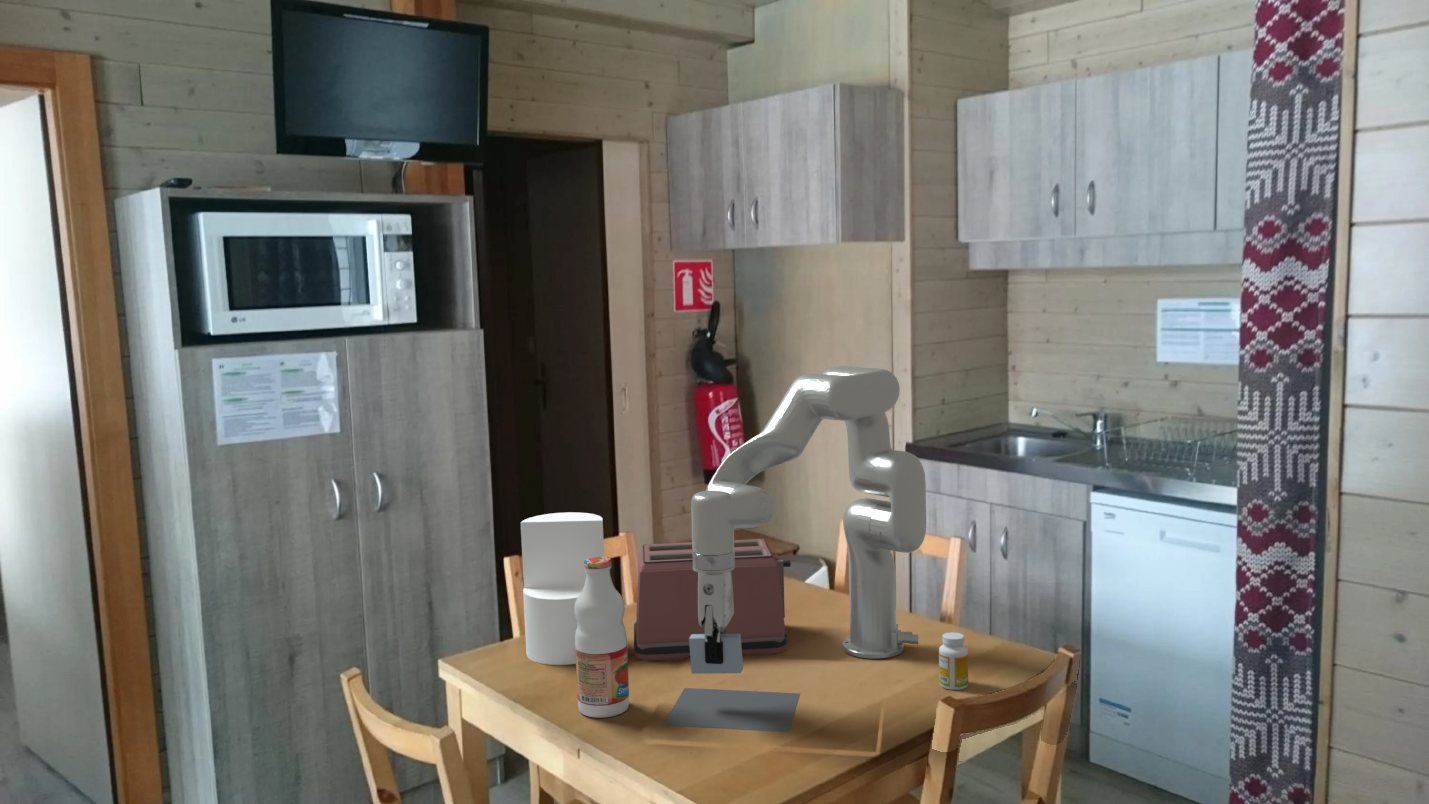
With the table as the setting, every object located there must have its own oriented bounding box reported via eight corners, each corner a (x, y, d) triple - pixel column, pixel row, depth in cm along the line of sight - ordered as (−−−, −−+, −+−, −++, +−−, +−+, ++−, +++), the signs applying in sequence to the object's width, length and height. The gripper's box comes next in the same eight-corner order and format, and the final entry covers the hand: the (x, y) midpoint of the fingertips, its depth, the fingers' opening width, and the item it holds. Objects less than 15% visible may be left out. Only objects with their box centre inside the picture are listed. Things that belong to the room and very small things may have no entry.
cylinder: (535, 637, 238) (528, 513, 235) (613, 635, 238) (607, 511, 234) (518, 665, 221) (511, 532, 218) (602, 664, 221) (596, 530, 217)
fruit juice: (575, 701, 201) (568, 555, 198) (625, 695, 203) (619, 551, 200) (580, 721, 192) (573, 568, 189) (633, 715, 194) (627, 563, 191)
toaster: (798, 653, 224) (796, 557, 221) (634, 662, 221) (630, 565, 219) (785, 623, 243) (783, 535, 240) (634, 631, 240) (630, 542, 238)
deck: (743, 668, 195) (740, 633, 194) (740, 673, 192) (738, 637, 192) (694, 668, 197) (691, 633, 196) (691, 673, 194) (688, 638, 194)
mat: (800, 697, 200) (800, 693, 200) (788, 736, 184) (788, 731, 184) (684, 691, 205) (684, 687, 204) (662, 729, 188) (662, 724, 188)
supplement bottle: (969, 681, 205) (969, 632, 204) (966, 691, 200) (966, 641, 199) (941, 678, 207) (940, 629, 206) (937, 689, 202) (936, 639, 201)
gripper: (725, 573, 184) (728, 677, 186) (741, 549, 199) (743, 646, 201) (682, 571, 185) (685, 675, 187) (702, 548, 201) (704, 644, 203)
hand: (715, 659), depth 194 cm, fingers closed on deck, 2 cm apart
